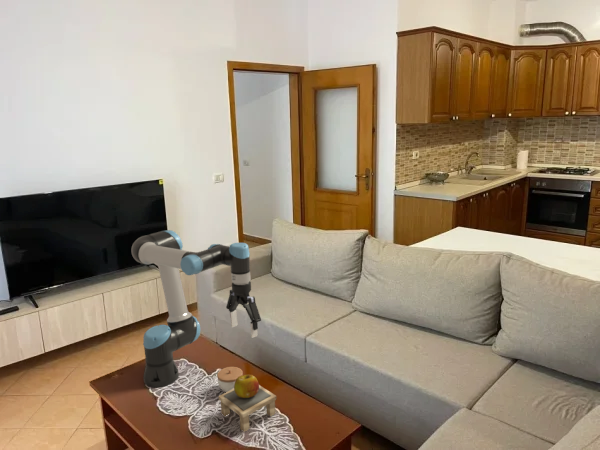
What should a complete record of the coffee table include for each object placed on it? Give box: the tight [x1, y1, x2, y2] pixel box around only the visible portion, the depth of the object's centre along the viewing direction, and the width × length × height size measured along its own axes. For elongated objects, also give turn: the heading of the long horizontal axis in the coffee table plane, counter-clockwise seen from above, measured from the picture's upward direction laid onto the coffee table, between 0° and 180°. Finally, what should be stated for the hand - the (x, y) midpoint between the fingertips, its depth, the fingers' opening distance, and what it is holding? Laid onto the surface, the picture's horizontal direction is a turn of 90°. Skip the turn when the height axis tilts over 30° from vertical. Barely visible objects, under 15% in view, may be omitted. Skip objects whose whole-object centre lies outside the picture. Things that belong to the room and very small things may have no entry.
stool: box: [218, 384, 277, 433], centre depth 179 cm, size 16×16×8 cm
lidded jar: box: [216, 366, 244, 393], centre depth 196 cm, size 11×11×9 cm
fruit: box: [234, 374, 260, 398], centre depth 177 cm, size 10×9×8 cm
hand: (244, 331), depth 187 cm, fingers open, 13 cm apart
